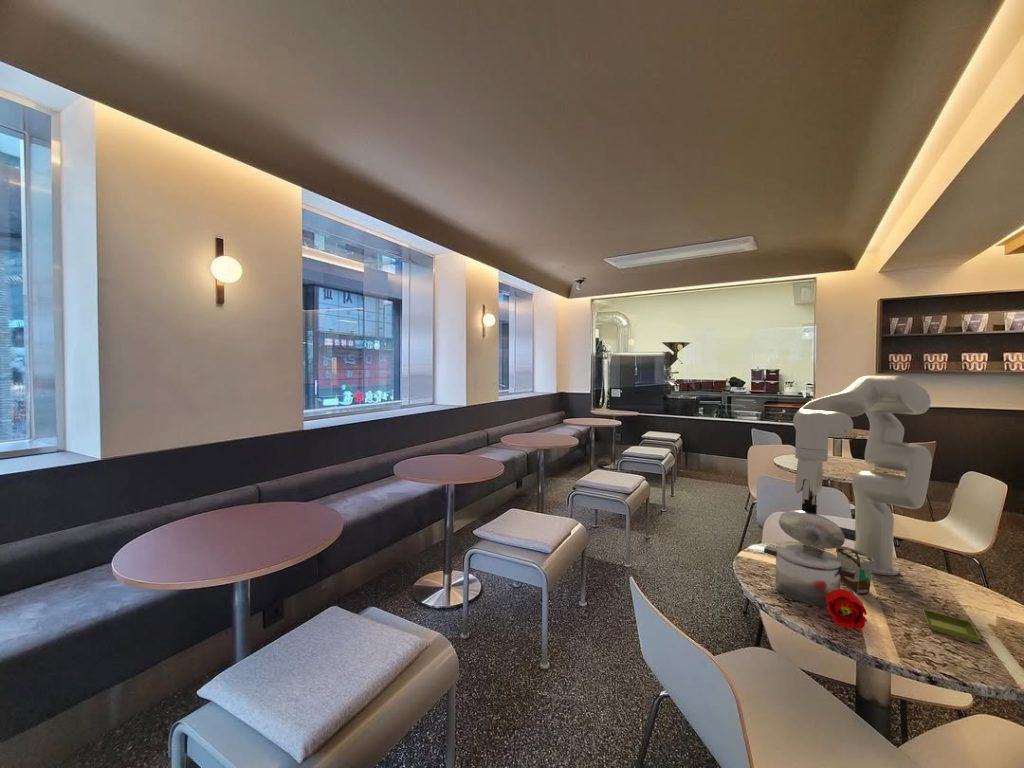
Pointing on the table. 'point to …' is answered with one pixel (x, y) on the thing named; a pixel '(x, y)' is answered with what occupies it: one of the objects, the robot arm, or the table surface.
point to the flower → (846, 609)
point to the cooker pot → (807, 572)
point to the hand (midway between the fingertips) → (809, 517)
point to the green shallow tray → (951, 625)
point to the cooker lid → (814, 530)
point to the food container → (860, 564)
